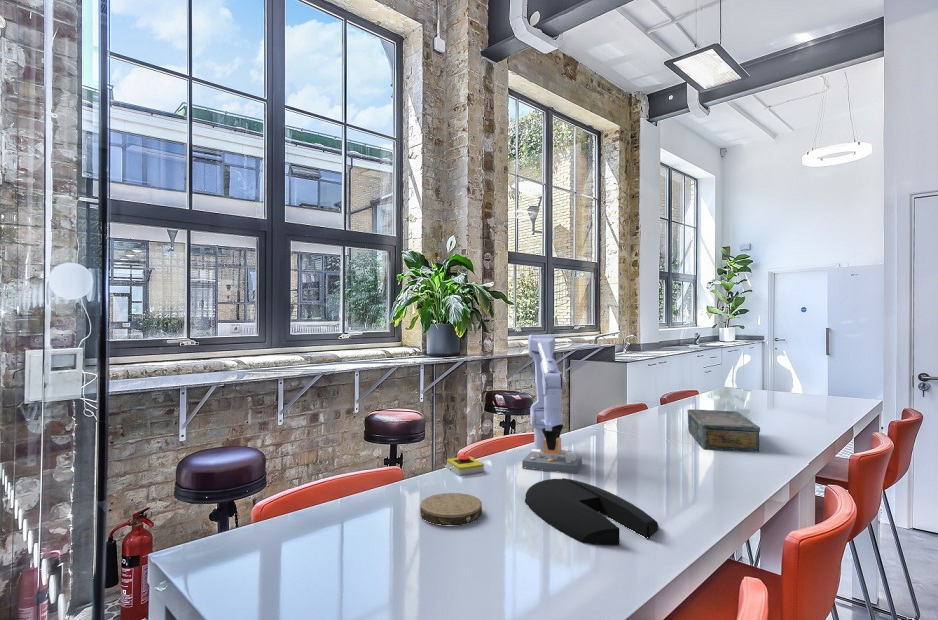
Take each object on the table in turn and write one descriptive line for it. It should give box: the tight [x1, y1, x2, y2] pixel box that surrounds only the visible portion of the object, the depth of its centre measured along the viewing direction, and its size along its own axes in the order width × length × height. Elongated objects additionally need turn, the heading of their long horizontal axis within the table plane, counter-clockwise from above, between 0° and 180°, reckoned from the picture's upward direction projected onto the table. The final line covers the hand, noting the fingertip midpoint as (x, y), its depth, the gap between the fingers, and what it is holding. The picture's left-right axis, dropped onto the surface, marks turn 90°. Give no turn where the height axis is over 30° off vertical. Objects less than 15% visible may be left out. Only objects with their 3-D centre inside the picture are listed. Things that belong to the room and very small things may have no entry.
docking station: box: [524, 477, 659, 546], centre depth 136 cm, size 25×41×5 cm, turn 22°
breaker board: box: [521, 448, 583, 474], centre depth 177 cm, size 12×18×4 cm, turn 69°
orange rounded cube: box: [544, 437, 562, 454], centre depth 178 cm, size 5×5×4 cm
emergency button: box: [444, 455, 488, 479], centre depth 173 cm, size 9×4×15 cm
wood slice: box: [419, 492, 483, 526], centre depth 135 cm, size 16×16×3 cm
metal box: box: [686, 409, 761, 452], centre depth 210 cm, size 21×32×10 cm, turn 166°
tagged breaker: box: [548, 455, 558, 460], centre depth 177 cm, size 3×3×3 cm
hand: (553, 447), depth 177 cm, fingers closed on orange rounded cube, 5 cm apart
